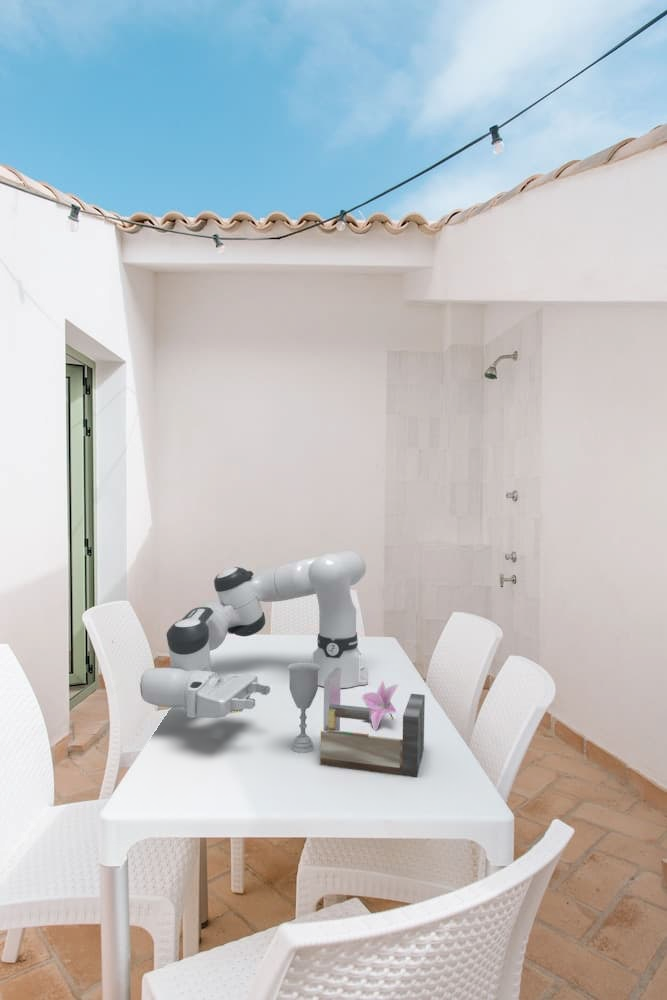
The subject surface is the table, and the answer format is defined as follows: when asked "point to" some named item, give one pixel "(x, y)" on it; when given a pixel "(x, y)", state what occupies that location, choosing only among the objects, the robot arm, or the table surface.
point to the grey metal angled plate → (334, 702)
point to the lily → (380, 703)
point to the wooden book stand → (379, 746)
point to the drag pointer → (332, 719)
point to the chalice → (303, 698)
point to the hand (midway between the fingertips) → (261, 696)
